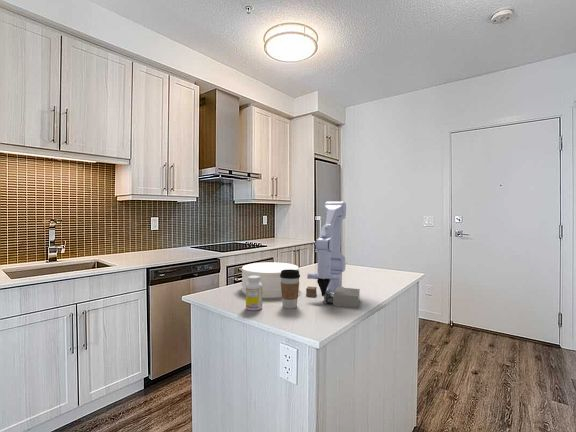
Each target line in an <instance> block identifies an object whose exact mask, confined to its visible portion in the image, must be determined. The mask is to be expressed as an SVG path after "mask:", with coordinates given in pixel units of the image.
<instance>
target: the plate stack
mask: <svg viewBox="0 0 576 432" xmlns="http://www.w3.org/2000/svg"><path fill="white" fill-rule="evenodd" d="M299 268H300V267H299V266H298V265H296V264H292V263H288V262H286V263H285V262H278V261H277V262H275V261H273V262H272V261H271V262H270V261H267V262H263V261H262V262H253V263H249V264H245V265H242V266H241V271H242V272H241V276H242V277H241V292H242V294H245V295H246V284H247V283H248V282H249V280H248V277H249V276H260V280H259V282H260V283H262V298H266V299H267V298H269V299H270V298H271V299H272V298H273V299H274V298H282V292H281V277H280V274H281V271H282V270H287V269H292V270H298V271H299Z"/></svg>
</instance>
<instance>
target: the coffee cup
mask: <svg viewBox="0 0 576 432" xmlns="http://www.w3.org/2000/svg"><path fill="white" fill-rule="evenodd" d="M280 277H281V292H282V297H281V298H282V299H281V301H282V307H283V308H285V309H295V308H297V307H298V297H299V291H300V277H301V274H300V271H299V270H292V269H287V270H282V271H281V274H280Z"/></svg>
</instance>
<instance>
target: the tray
mask: <svg viewBox="0 0 576 432" xmlns="http://www.w3.org/2000/svg"><path fill="white" fill-rule="evenodd" d="M329 292H331V291H330V288H328V290H327V291H326V293H325V295H324V296H323V299H324V300H323V304H324V305H327V303H332V304H333V299H329V298H328V297H329Z"/></svg>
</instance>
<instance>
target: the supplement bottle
mask: <svg viewBox="0 0 576 432" xmlns="http://www.w3.org/2000/svg"><path fill="white" fill-rule="evenodd" d="M248 280H249V282H248V283H247V284H246V294H245V308H246V310H248V311H254V312H255V311H260V310H261V309H262V308H263V297H262V283H260V282H259V280H260V276H249V277H248Z"/></svg>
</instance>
